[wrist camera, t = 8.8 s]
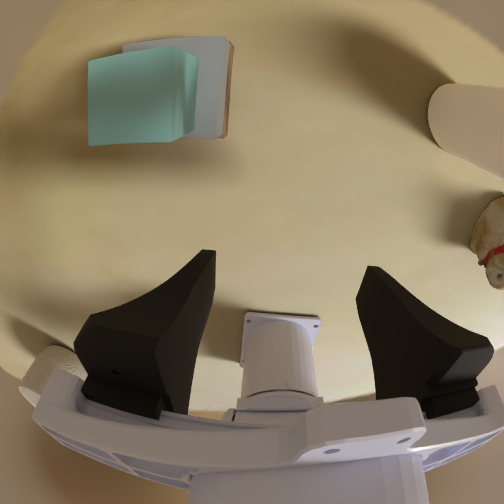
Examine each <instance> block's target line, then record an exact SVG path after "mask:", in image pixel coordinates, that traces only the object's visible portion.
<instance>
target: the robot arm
mask: <svg viewBox="0 0 504 504" xmlns="http://www.w3.org/2000/svg"><path fill="white" fill-rule="evenodd" d="M215 269H216V251H214V250H204V249H203V250H201V251H200V252H199V253H198V254H197V255H196V256H195V257H194V258H193V259H192V260H191V261H189V262H188V263H187V264H186V265H185V266H184V267H183V268H182V269H181V270H179V271H178V272H177V273H176V274H175V275H173V276H172V277H171V278H169V279H168V280H167V281H166V282H164V283H163V284H161V285H160V286H158V287H157V288H155V289H153V290H152V291H150V292H148V293H146V294H144V295H142V296H140V297H139V298H137V299H135V300H133V301H130V302H128V303H126V304H123V305H121V306H118V307H115V308H112V309H109V310H106V311H102V312H99V313H96V314H92V315H90V316H89V318H88V319H87V321H86V322H85V324H84V325H83V327H82V329H81V330H80V332H79V334H78V335H77V337H76V339H75V341H74V349H75V352H76V354H77V357H78V358H79V360H80V362H81V364H82V365H83V367H84V369H85V370H86V372H87V374H88V376H87V378H86V380H85V382H84V380H82V379H81V378H80V377H78V376H75V375H73V374H70V373H67V372H65V371H62V370H60V369H55V370H54V372H53V374H52V376H51V378H50V379H49V381H48V383H47V385H46V387H45V389H44V391H43V393H42V395H41V397H40V399H39V401H38V403H37V405H36V407H35V410H34V412H33V414H32V416H31V417H32V419H33V420H34V421H35V422H36V423H37V424H38V425H39V426H40V427H41V428H43V429H44V430H45V431H46V432H47V433H48V434H50V435H51V436H52V437H53V438H55V439H56V440H57V441H58V442H60V443H61V444H62V445H64V446H66V447H69V448H71V449H73V450H75V451H77V452H79V453H81V454H83V455H86V456H88V457H90V458H92V459H95V460H97V461H99V462H102V463H104V464H106V465H109V466H112V467H114V468H117V469H119V470H122V471H125V472H127V473H130V474H133V475H136V476H139V477H142V478H145V479H148V480H152V481H155V482H158V483H162V484H165V485H169V486H173V487H177V488H181V489H186V490H189V494H188V501H187V504H429V499H428V492H427V486H426V480H425V476H424V472H426V471H429V470H431V469H433V468H436V467H438V466H441V465H443V464H446V463H447V462H450V461H452V460H454V459H457V458H459V457H461V456H463V455H465V454H468V453H469V452H472V451H474V450H475V449H478V448H479V447H481V446H482V445H484V444H485V443H486V442H488V441H489V440H490V439H492V438H493V437H494V436H496V435H497V434H498V433H500V432H501V431H502V430H503V429H504V405H503V402H502V400H501V397H500V395H499V393H498V391H497V388H496V386H495V385H491V386H488V387H485V388H482V389H480V390H479V391H476V389H475V386H477V384H478V382H477V380H476V377H477V376H478V375H479V374H480V373H481V371H482V370H483V369H484V368H485V367H486V366H487V364H488V363H489V362H490V360H491V358H492V356H493V353H494V348H493V346H492V344H491V343H490V341H489V339H488V338H487V337H485V336H482V335H480V334H477V333H474V332H472V331H469V330H467V329H465V328H463V327H461V326H459V325H457V324H455V323H453V322H451V321H449V320H448V319H446V318H444V317H443V316H441V315H439V314H438V313H436V312H435V311H433V310H432V309H431V308H429V307H428V306H426V305H425V304H424V303H422V302H421V301H420V300H419V299H417V298H416V297H415V296H414V295H412V294H411V293H410V292H409V291H408V290H406V289H405V288H404V287H403V286H402V285H401V284H400V283H398V282H397V281H396V280H395V279H394V278H393V277H391V276H390V275H389V274H388V273H387V272H385V271H384V270H383V269H381V268H380V267H376V266H367V269H366V272H365V275H364V278H363V281H362V283H361V286H360V289H359V291H358V294H357V296H356V304H357V310H358V315H359V319H360V322H361V325H362V328H363V332H364V335H365V338H366V341H367V344H368V348H369V351H370V355H371V359H372V365H373V371H374V379H375V389H376V400H373V401H362V402H347V403H334V404H328V405H324V401H323V397H318V391H317V382H316V374H315V366H314V358H313V350H312V347H313V345H314V342H315V339H316V337H317V334H318V331H319V328H320V326H321V323H322V321H321V318H319V317H305V316H291V315H278V314H266V313H255V312H247V313H246V314H245V317H244V327H243V337H242V348H241V358H240V366H241V367H242V368H243V379H242V391H241V398H238V399H237V409H233V408H229V409H228V410H227V412H225V413H224V414H223V415H222V417H221V420H215V419H208V418H201V417H195V416H189V415H188V407H189V400H190V393H191V386H192V380H193V374H194V368H195V363H196V357H197V352H198V348H199V344H200V340H201V337H202V334H203V331H204V328H205V325H206V322H207V319H208V315H209V312H210V309H211V306H212V302H213V296H214V291H215Z"/></svg>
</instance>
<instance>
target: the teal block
mask: <svg viewBox="0 0 504 504" xmlns="http://www.w3.org/2000/svg"><path fill="white" fill-rule="evenodd" d="M198 60H199V59H198V58H196V57H194V56H192V55H191V54H189V53H187V52H185V51H183V50H181V49H179V48H177V47H175V46H171V47H161V48H153V49H146V50H139V51H133V52H127V53H122V54H117V55H112V56H108V57H103V58H99V59H95V60H91V61H89V63H88V84H87V119H88V141H89V146H99V145H112V144H128V143H156V142H172V141H174V140H176V139H178V138H180V137H182V136H184V135H186V134H188V133H190V132H192V131H194V130H195V111H196V90H197V74H198Z"/></svg>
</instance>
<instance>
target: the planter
mask: <svg viewBox="0 0 504 504" xmlns="http://www.w3.org/2000/svg"><path fill="white" fill-rule="evenodd" d="M55 369H60V370H62V371H65V372H67V373H70V374H73V375H75V376H78V377H80V378H81V379H82V380H84V382H85V380H86V378H87V376H88V374H87V372H86V370H85V369H84V367H83V365H82V364H81V362H80V360H79V358H78V357H77V355H76V354H75V353H73V352H72V351H70V350H68V349H66V348H64V347H61V346H57V345H51V346H48V347H46V348H45V349H43V350H42V351H41V353H40V354H39V355H38V356H37V358H36V359H35V360H34V362H33V363H32V365H31V366H30V368H29V369H28V371H27V373H26V374H25V376H24V377H23V379H22V381H21V382H20V384H19V386H18V388H19V391H20V392H21V394H22V395H23V396H24V397H25V398H26V399H27V400H28V401H29V402H30V403H31V404H32V405H33V406H34V407H36V405H37V403H38V401H39V399H40V397H41V395H42V393H43V391H44V389H45V387H46V385H47V383H48V381H49V379H50V378H51V376H52V374H53V372H54V370H55Z"/></svg>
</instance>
